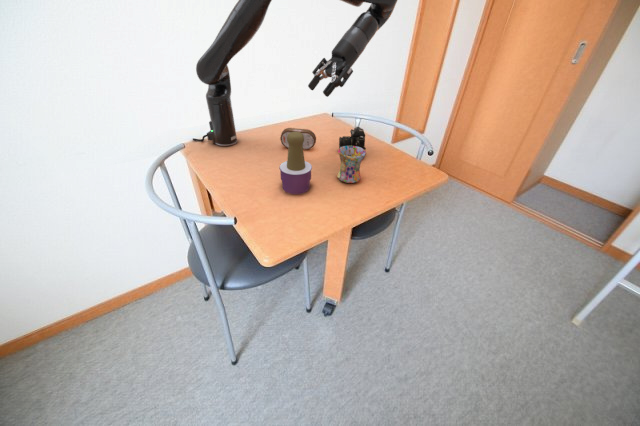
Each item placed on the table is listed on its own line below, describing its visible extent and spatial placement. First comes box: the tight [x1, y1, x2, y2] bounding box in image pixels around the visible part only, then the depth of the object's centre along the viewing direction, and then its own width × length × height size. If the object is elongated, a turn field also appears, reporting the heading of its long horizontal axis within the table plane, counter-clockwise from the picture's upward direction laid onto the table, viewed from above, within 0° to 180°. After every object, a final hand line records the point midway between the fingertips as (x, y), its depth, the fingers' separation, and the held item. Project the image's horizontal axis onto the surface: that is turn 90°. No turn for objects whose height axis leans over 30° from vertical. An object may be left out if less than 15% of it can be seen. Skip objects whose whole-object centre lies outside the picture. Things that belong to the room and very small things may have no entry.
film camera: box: [338, 126, 367, 151], centre depth 113 cm, size 18×12×10 cm
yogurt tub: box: [278, 160, 313, 195], centre depth 89 cm, size 10×10×8 cm
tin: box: [279, 127, 317, 151], centre depth 114 cm, size 15×3×8 cm, turn 84°
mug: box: [336, 146, 367, 184], centre depth 95 cm, size 12×9×11 cm
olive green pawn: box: [286, 132, 306, 171], centre depth 84 cm, size 6×6×11 cm
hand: (317, 91), depth 85 cm, fingers open, 8 cm apart
